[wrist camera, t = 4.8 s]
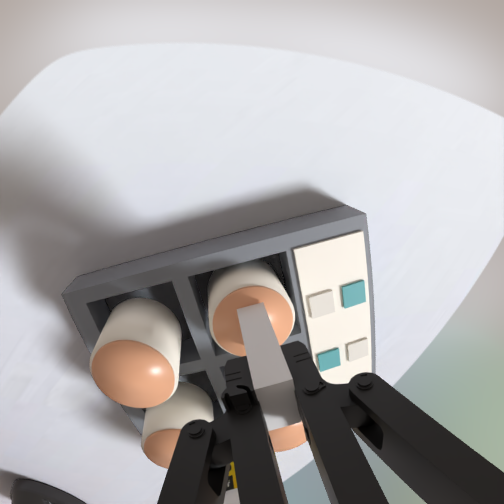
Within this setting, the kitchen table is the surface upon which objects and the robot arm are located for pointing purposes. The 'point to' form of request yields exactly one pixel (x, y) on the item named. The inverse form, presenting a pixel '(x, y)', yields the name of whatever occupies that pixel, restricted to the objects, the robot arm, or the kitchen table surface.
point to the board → (297, 286)
